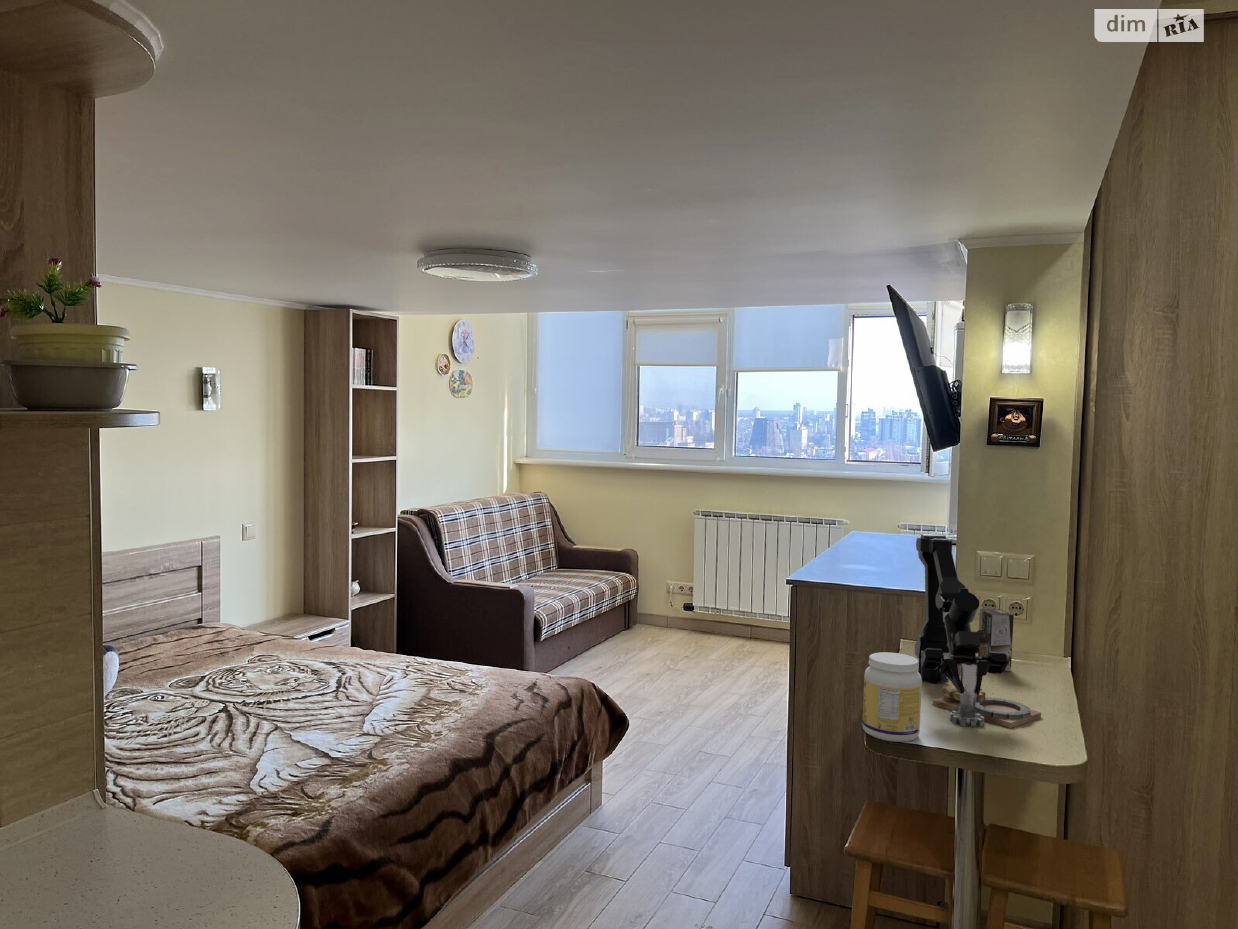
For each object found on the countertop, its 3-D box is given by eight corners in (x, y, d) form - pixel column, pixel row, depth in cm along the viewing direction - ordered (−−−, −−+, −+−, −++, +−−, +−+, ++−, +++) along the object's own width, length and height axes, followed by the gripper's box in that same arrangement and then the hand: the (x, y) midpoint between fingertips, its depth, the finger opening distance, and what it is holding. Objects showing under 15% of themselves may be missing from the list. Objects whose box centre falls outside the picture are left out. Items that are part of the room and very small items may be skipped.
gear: (943, 720, 204) (946, 662, 203) (961, 714, 208) (963, 658, 207) (972, 729, 198) (975, 670, 197) (989, 723, 202) (992, 665, 202)
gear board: (929, 703, 216) (930, 684, 216) (960, 694, 224) (961, 675, 224) (1010, 728, 199) (1011, 706, 199) (1040, 717, 208) (1041, 697, 207)
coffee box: (1012, 671, 248) (1014, 615, 247) (989, 671, 248) (991, 614, 247) (998, 663, 257) (1001, 608, 256) (976, 662, 257) (979, 607, 257)
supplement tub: (865, 721, 202) (868, 648, 201) (921, 729, 197) (924, 655, 196) (858, 738, 190) (861, 661, 190) (917, 747, 186) (920, 668, 185)
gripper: (925, 614, 207) (934, 673, 196) (1008, 618, 205) (1021, 678, 194) (916, 639, 215) (925, 697, 205) (996, 643, 213) (1008, 702, 202)
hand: (969, 693), depth 201 cm, fingers closed on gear, 3 cm apart
